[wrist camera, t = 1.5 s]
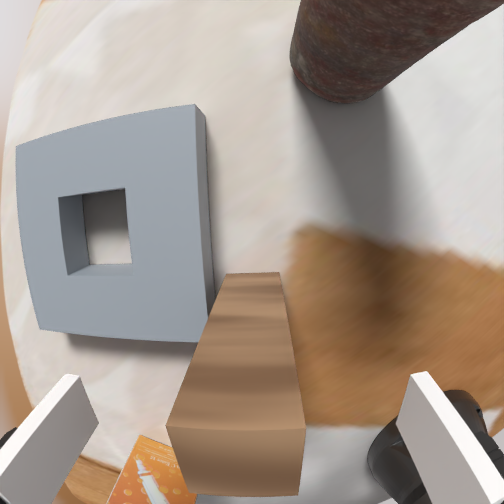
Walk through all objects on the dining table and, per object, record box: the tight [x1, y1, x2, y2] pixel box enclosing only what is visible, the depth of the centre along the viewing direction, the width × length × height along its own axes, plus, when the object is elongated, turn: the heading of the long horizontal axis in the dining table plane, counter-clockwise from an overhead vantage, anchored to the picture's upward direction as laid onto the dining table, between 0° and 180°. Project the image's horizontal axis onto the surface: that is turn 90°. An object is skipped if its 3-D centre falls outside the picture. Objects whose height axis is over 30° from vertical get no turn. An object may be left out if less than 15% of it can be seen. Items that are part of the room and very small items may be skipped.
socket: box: [16, 104, 215, 342], centre depth 21 cm, size 16×16×4 cm
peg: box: [166, 272, 306, 497], centre depth 16 cm, size 4×4×16 cm
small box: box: [107, 435, 198, 504], centre depth 22 cm, size 8×6×13 cm
